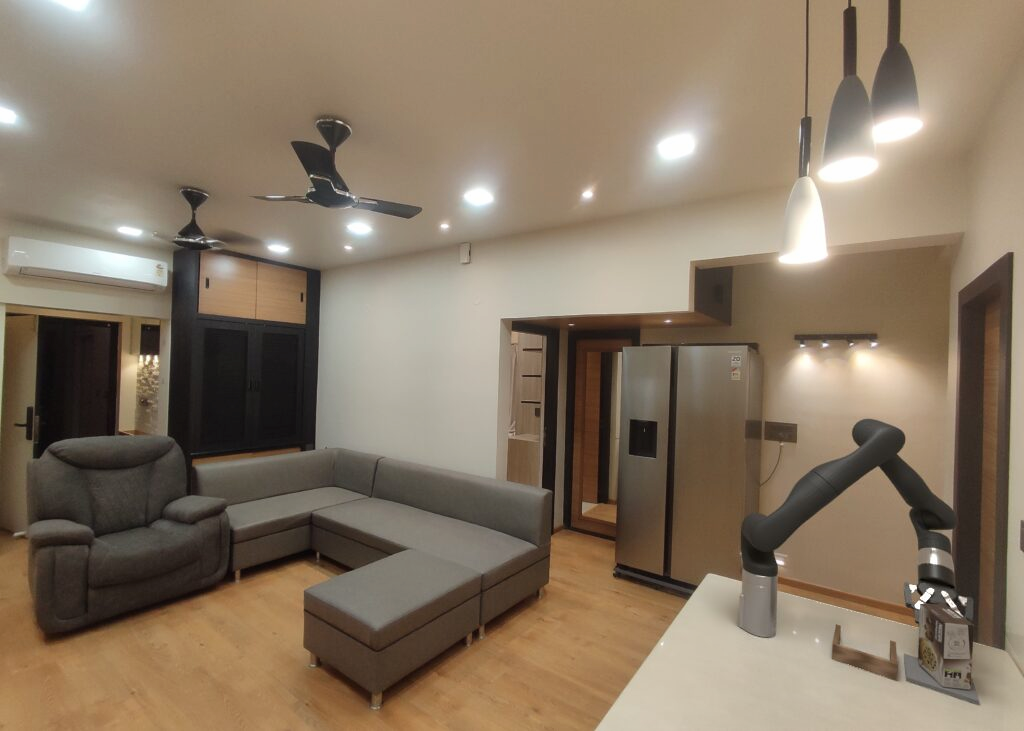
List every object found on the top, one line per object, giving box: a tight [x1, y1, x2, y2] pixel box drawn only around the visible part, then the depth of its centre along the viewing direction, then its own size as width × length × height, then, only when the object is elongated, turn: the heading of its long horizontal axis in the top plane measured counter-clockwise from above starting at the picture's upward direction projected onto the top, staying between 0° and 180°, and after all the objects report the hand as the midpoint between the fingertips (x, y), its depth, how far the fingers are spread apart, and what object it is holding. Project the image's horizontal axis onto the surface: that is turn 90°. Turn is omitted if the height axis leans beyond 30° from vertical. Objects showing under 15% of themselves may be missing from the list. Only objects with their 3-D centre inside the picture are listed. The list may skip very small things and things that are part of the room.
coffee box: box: [917, 603, 975, 690], centre depth 117 cm, size 9×6×16 cm
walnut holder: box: [831, 623, 898, 682], centre depth 126 cm, size 13×13×4 cm
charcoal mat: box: [903, 653, 980, 706], centre depth 118 cm, size 13×13×1 cm
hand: (939, 630), depth 120 cm, fingers closed on coffee box, 6 cm apart
